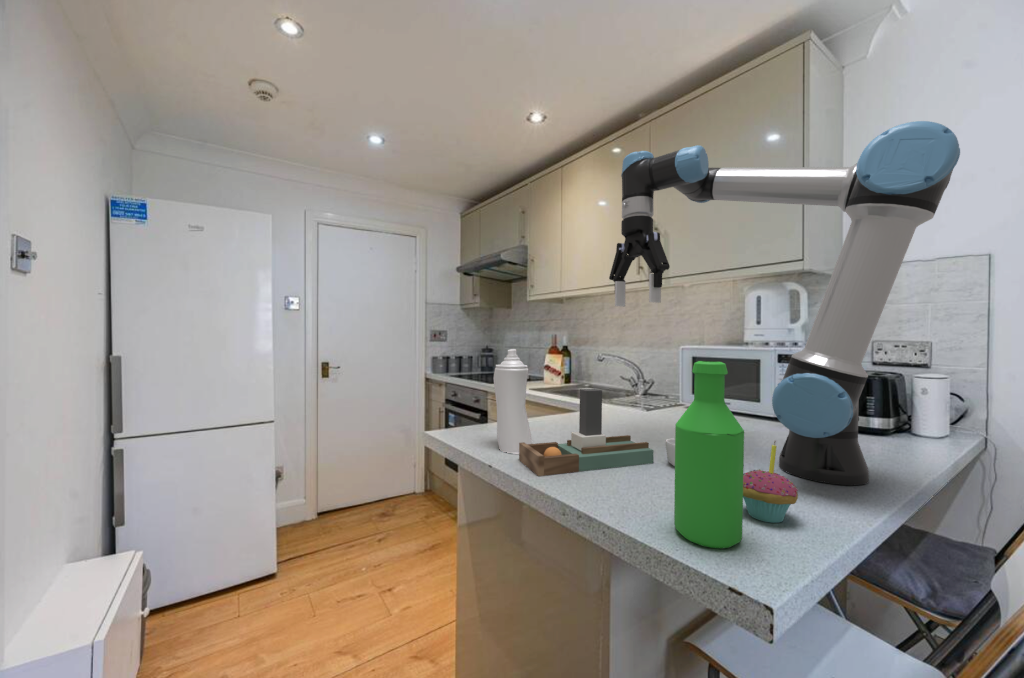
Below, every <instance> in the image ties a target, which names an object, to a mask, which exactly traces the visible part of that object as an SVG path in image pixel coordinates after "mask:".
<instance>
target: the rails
mask: <svg viewBox="0 0 1024 678" xmlns="http://www.w3.org/2000/svg"><path fill="white" fill-rule="evenodd" d="M622 441H632V436H631V435H630V434H625V435H614V436H613V435H612V436H606V443H611V442H622ZM566 443H567V446H572V445H571V439H566ZM649 445H650V442H648V441H642V442H635V443H629V444H618V445H607V446H596V447H585V448H581V453H582V454H592V453H602V452H612V451H623V450H633V449H643V448H650V446H649Z"/></svg>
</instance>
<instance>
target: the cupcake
mask: <svg viewBox="0 0 1024 678" xmlns="http://www.w3.org/2000/svg"><path fill="white" fill-rule="evenodd" d="M776 441H777V440H774V441H773V444H771V450H770V458H769V467H768V469H769V470H768V471H766V470H761V469H753V470H749V471H748V472H745V473H744V472H743V502H744V503H745V506H746V509H747V512H748V515H749V516H750V517H752V518H753V519H755V520H758V521H761V522H764V523H770V524H771V523H773V524H777V523H782V522H783V521H784V520H785V516H786V513H787V512H788V509H789V508H790V506H791V505H795V504H796V503H797V501H798V499H799V497H798V496H799V495H798V491H799V488H798V487H797V486H796V485H795V484H794V482H793V481H791V480H790V479H789V478H787V477H785V476H784V475H781V474H779V473H778V472H775V462H776V456H777V455H776V453H777V445H776Z"/></svg>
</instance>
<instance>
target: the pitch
mask: <svg viewBox="0 0 1024 678" xmlns="http://www.w3.org/2000/svg"><path fill="white" fill-rule="evenodd" d="M629 443H636V441H635V442H634V441H632V440H631V441H622V442H611V443H606V446H607V445H618V444H629ZM558 449H559V450H560V451H561V454H562V455H566V454H578V455H579V472H585V471H586V472H588V471H595V470H603V469H605V470H606V469H613V468H623V467H631V466H641V465H650V464H654V449H652V448H650V447H649V448H643V449H633V450H623V451H612V452H602V453H592V454H582V453H581V450H579V449H577V448H575V447H573V446H567V442H566V443H558Z"/></svg>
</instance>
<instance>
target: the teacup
mask: <svg viewBox="0 0 1024 678" xmlns="http://www.w3.org/2000/svg"><path fill="white" fill-rule="evenodd" d="M665 448H666V449H665V450H666V451H665V452H666V456H667V457H666V458H667V460H668V462H669V464H670V465H672V466H673V467H674V468H675V437H671V438H666V439H665Z"/></svg>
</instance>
